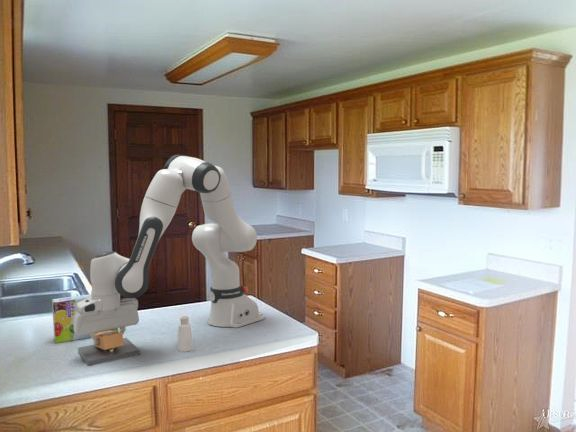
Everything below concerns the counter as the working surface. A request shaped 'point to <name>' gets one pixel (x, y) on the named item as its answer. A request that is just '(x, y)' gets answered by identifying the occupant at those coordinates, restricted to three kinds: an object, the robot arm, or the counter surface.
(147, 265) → the robot arm
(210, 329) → the counter surface
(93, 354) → the base plate
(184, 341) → the pepper shaker
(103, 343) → the orange block with recesses
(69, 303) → the snack box
